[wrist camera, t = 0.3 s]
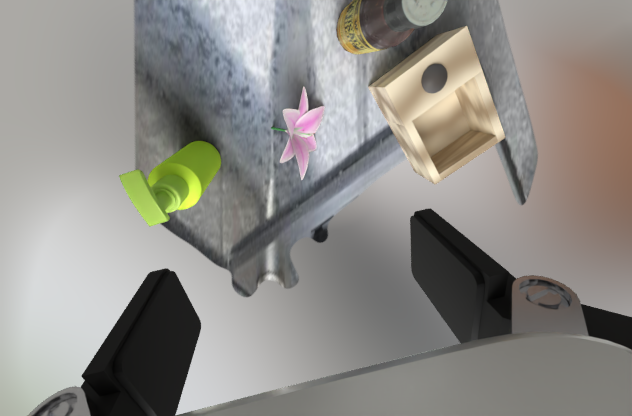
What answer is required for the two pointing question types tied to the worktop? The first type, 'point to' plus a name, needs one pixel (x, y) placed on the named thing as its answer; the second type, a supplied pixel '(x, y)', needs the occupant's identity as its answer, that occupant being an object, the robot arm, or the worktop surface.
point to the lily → (301, 132)
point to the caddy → (440, 105)
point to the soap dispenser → (173, 182)
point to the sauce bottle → (383, 22)
